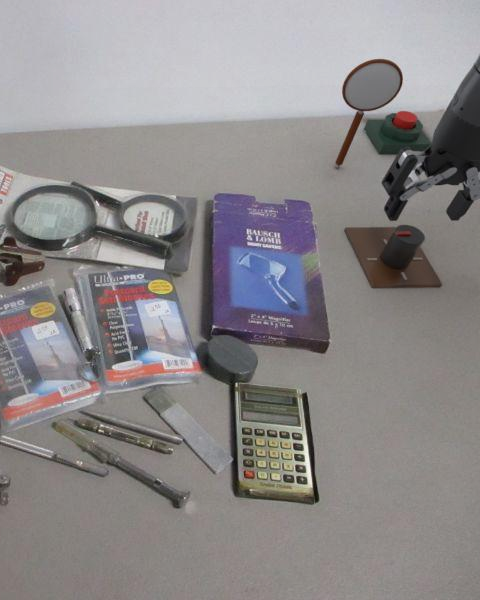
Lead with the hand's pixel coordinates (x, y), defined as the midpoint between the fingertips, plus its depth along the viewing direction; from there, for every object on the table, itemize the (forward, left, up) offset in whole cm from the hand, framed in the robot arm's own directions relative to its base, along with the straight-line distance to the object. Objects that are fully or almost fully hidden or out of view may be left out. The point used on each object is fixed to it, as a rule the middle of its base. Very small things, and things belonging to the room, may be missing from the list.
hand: (420, 216), depth 80 cm
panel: (0, -1, -11) cm, 11 cm away
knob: (0, 0, -8) cm, 8 cm away
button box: (-14, -33, -11) cm, 38 cm away
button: (-14, -33, -7) cm, 37 cm away
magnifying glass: (-1, -25, -11) cm, 28 cm away
